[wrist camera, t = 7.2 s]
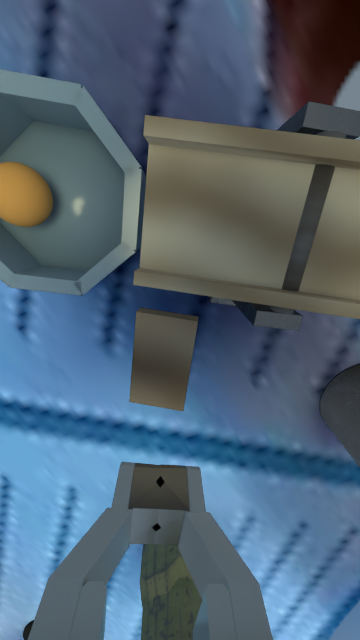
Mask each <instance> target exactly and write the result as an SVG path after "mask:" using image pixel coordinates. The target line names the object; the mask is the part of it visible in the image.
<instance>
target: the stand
mask: <svg viewBox="0 0 360 640" xmlns="http://www.w3.org/2000/svg"><path fill="white" fill-rule="evenodd" d="M277 131H285V132H293V133H302V134H310V135H316V134H318V133H320V132H324V131H340V132H343V133H345V134H346V138H345V139H353V140H354V139H356V138H358V137H359V136H360V111H355V110H350V109H345V108H340V107H335V106H330V105H324V104H319V103H314V102H308V103H307V104H306V105H304V106H303V107H302V108H301V109H300V110H299V111H298V112H297V113H296V114H294V115H293V116H292V117H291V118H290V119H289V120H288V121H287V122H285V123H284V124H283V125H282V126H281V127H280V128H279V129H278V130H277ZM209 300H210V302H211V303H218V304H226V305H235V306H237V307H238V308H239V310H240V311H241V312H242V313H243V314H244V315H245V316H246V318H247V319H248V320H249V321H250V322H251V323H252V324H253V326H261V327H271V328H280V329H289V330H298V331H299V327H300V324H301V321H302V318H303V316H302V315H301V314H299V313H298V312H296V311H295V310H294V312H293V314H283V313H279V312H275V311H273V310H271V309H270V305H263V304H257V303H250V302H244V301H237V300H230V299H224V298H217V297H211V296H210V298H209Z"/></svg>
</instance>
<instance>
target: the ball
mask: <svg viewBox="0 0 360 640" xmlns="http://www.w3.org/2000/svg"><path fill="white" fill-rule="evenodd" d="M52 208H53V196H52V192H51V190H50V187H49V185H48V184H47V182H46V181H45V179H44V178H43V177H42V176H41V175H40V174H39V173H38V172H37V171H35V170H34V169H32V168H31V167H29V166H27V165H24V164H22V163H18V162H3V163H0V218H2V219H3V220H5V221H6V222H8V223H10V224H13V225H16V226H21V227H33V226H36V225H39V224H41V223H43V222H44V221H45V220H46V219H47V218H48V217H49V215H50V213H51V211H52Z"/></svg>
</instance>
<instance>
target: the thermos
mask: <svg viewBox="0 0 360 640" xmlns="http://www.w3.org/2000/svg"><path fill="white" fill-rule="evenodd" d="M140 589H141V600H142V606H143V615H142V630H141V640H193V632H192V631H193V628H194V625H195V622H196V619H197V616H198V612H199V609H200V606H201V603H202V598H201V596H200V594H199V592H198V590H197V587H196V585H195V583H194V581H193V579H192V577H191V574H190V572H189V570H188V568H187V566H186V564H185V561H184V559H183V557H182V555H181V553H180V550H179V548H178V546H176V545H161V544H144V545H143V551H142V563H141V575H140Z"/></svg>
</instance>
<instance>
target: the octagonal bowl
mask: <svg viewBox="0 0 360 640" xmlns="http://www.w3.org/2000/svg"><path fill="white" fill-rule="evenodd" d="M3 162H18V163H22V164H24V165H27V166H29V167H31V168H32V169H34V170H35V171H37V172H38V173H39V174H40V175H41V176H42V177H43V178H44V179H45V181H46V182H47V184H48V185H49V187H50V190H51V192H52V196H53V208H52V211H51V213H50V215H49V217H48V218H47V219H46V220H45V221H44V222H43V223H41V224H39V225H36V226H33V227H21V226H16V225H13V224H10V223H8V222H6V221H5V220H3V219H2V218H0V279H1V280H2V281H3V282H4V283H5V284H6V285H7V286H10V288H18V289H27V290H36V291H44V292H53V293H62V294H71V295H80V296H82V295H84V294H85V293H87V292H88V291H89V290H90V289H92V288H93V287H94V286H96V285H97V284H98V283H99V282H101V281H102V280H103V279H104V278H105V277H107V276H108V275H109V274H110V273H111V272H113V271H114V270H115V269H116V268H117V267H119V266H120V265H121V264H122V263H123V262H125V261H126V260H127V259H128V258H129V257H131V256H132V255H133V254H134V253H136V252H137V251H138V250H139V249H140V248H141V242H142V229H143V216H144V202H145V189H146V177H145V174H144V172H143V170H142V168H141V166H140V164H139V163H138V162H137V160H136V159H135V157H134V156H133V155H132V153H131V152H130V150H129V149H128V148H127V146H126V145H125V143H124V142H123V141H122V139H121V138H120V136H119V135H118V134H117V132H116V131H115V129H114V128H113V126H112V125H111V124H110V122H109V121H108V119H107V118H106V117H105V115H104V114H103V112H102V111H101V110H100V108H99V107H98V105H97V104H96V103H95V101H94V100H93V98H92V97H91V96H90V94H89V93H88V91H87V90H86V89H85V87H84V86H83V87H82V85H81V84H77V83H71V82H66V81H60V80H55V79H49V78H44V77H39V76H33V75H28V74H22V73H17V72H11V71H6V70H0V163H3Z"/></svg>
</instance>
